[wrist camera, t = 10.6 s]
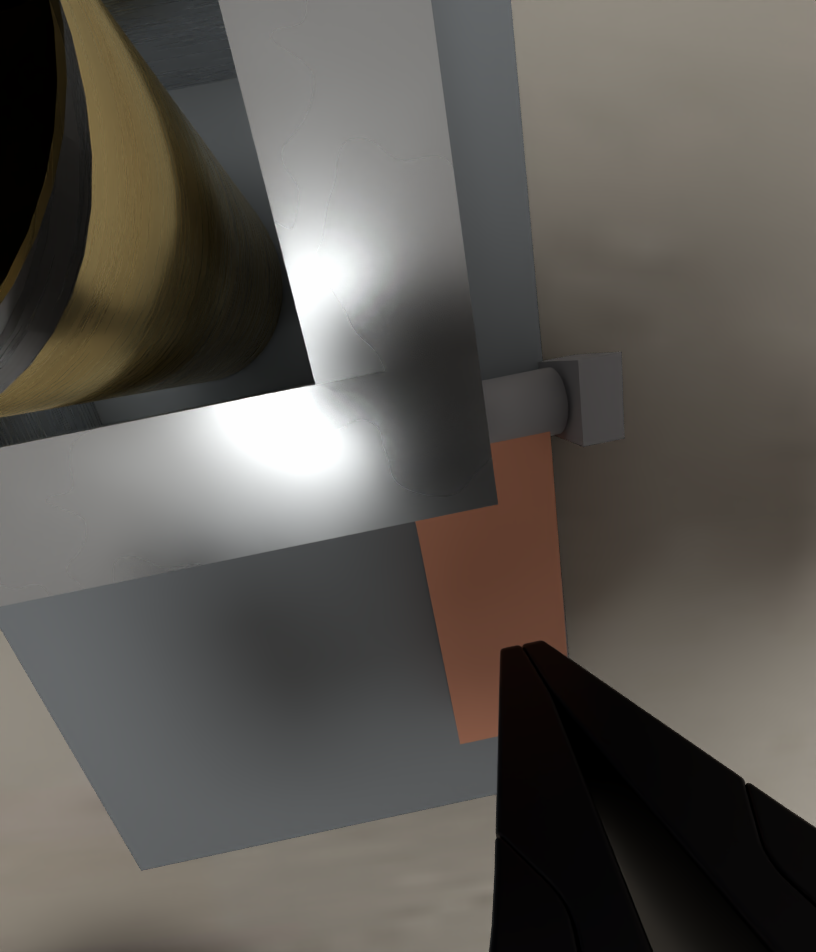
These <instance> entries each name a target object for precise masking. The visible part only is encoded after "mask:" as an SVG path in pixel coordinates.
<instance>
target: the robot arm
mask: <svg viewBox="0 0 816 952" xmlns="http://www.w3.org/2000/svg"><path fill="white" fill-rule="evenodd" d="M496 837H497V838H496V840H495V874H494V893H493V912H492V929H491V938H490V948H489V952H816V827H814V826H813V825H811V824H810V823H808V822H807V821H805V820H804V819H802V818H801V817H799V816H798V815H796V814H795V813H793V812H792V811H790V810H789V809H787V808H786V807H784V806H783V805H781V804H780V803H778V802H777V801H776V800H774V799H773V798H771V797H770V796H768V795H767V794H765V793H764V792H763V791H761V790H760V789H758V788H757V787H755V786H754V785H752V784H750V783H747V784H746V785H745V781H744V779H743V778H742V777H740V776H739V775H737V774H736V773H735V772H733V771H732V770H730V769H729V768H727V767H726V766H724V765H723V764H722V763H720V762H719V761H717V760H716V759H714V758H713V757H711V756H710V755H709V754H707V753H706V752H704V751H703V750H701V749H700V748H698V747H697V746H695V745H694V744H693V743H691V742H690V741H688V740H687V739H685V738H684V737H682V736H681V735H680V734H678V733H677V732H675V731H674V730H672V729H671V728H669V727H668V726H666V725H665V724H664V723H662V722H661V721H659V720H658V719H656V718H655V717H653V716H652V715H651V714H649V713H648V712H646V711H645V710H643V709H642V708H640V707H639V706H638V705H636V704H635V703H633V702H632V701H630V700H629V699H627V698H626V697H624V696H623V695H622V694H620V693H619V692H617V691H616V690H614V689H613V688H611V687H610V686H609V685H607V684H606V683H604V682H603V681H601V680H600V679H598V678H597V677H596V676H594V675H593V674H591V673H590V672H588V671H587V670H585V669H584V668H582V667H581V666H580V665H578V664H577V663H575V662H574V661H572V660H571V659H569V658H568V657H567V656H565V655H564V654H562V653H561V652H559V651H558V650H556V649H555V648H553V647H552V646H551V645H549V644H548V643H546V642H545V641H542V640H539V641H534V642H530V643H525V644H523V646H522V647H521V646H520V645H515V646H511V647H506V648H502V649H501V650H500V672H499V715H498V759H497V802H496Z"/></svg>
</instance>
